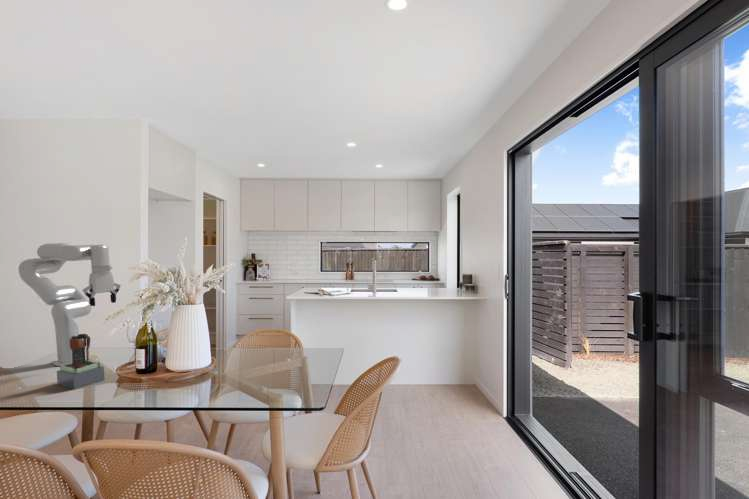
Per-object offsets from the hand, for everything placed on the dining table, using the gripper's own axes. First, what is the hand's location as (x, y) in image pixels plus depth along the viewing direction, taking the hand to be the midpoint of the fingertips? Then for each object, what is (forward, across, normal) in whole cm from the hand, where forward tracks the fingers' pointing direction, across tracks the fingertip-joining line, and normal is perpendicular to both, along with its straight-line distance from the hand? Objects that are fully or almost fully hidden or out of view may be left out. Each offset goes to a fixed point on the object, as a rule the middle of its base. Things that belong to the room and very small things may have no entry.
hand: (103, 304), depth 208 cm
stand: (+30, +20, +17) cm, 40 cm away
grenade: (+24, +20, +17) cm, 36 cm away
